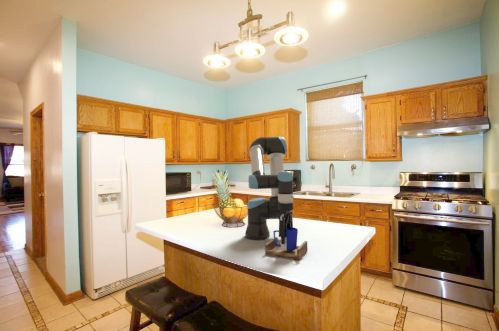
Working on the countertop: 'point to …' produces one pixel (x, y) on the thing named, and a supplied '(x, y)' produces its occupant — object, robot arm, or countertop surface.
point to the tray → (276, 251)
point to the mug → (289, 238)
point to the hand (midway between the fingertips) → (286, 247)
